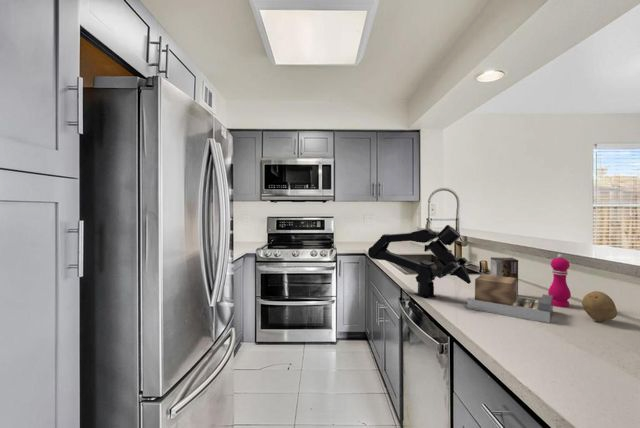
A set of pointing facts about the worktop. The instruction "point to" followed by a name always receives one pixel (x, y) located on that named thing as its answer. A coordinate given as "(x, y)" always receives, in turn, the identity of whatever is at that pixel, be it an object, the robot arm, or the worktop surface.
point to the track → (518, 308)
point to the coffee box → (505, 268)
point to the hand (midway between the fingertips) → (469, 283)
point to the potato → (599, 306)
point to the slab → (495, 289)
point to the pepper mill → (559, 282)
